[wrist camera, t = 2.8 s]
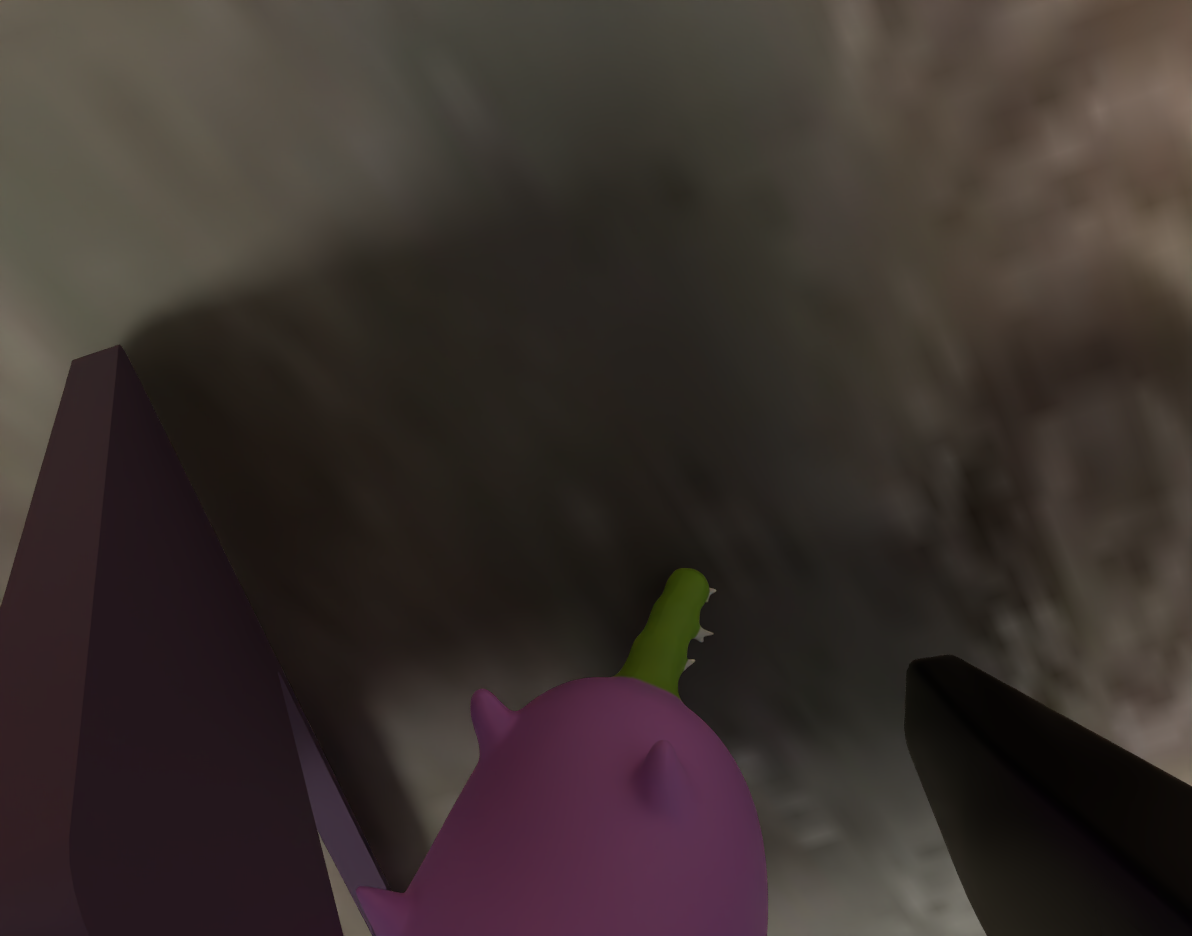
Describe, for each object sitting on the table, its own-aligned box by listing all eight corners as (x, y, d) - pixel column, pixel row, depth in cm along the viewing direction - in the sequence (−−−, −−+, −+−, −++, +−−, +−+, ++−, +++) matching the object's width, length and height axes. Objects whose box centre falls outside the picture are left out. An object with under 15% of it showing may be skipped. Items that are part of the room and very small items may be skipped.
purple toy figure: (-531, 1203, 2) (582, 1976, 6) (1257, 313, 3) (1177, 1407, 7) (-22, 385, 8) (362, 1051, 12) (551, 193, 9) (720, 840, 13)
